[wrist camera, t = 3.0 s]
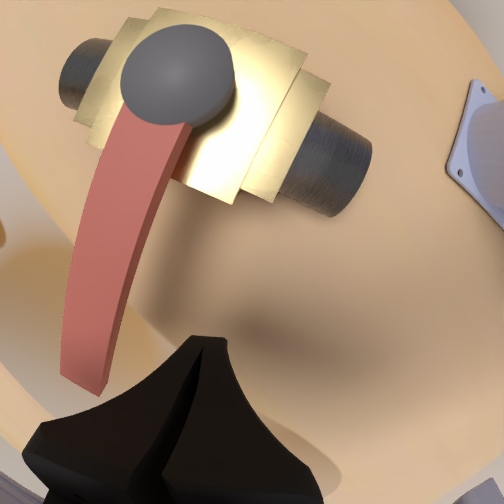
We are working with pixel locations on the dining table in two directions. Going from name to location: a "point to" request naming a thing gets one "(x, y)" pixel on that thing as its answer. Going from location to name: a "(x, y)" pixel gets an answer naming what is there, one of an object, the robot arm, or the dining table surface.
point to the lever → (136, 184)
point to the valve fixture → (235, 118)
